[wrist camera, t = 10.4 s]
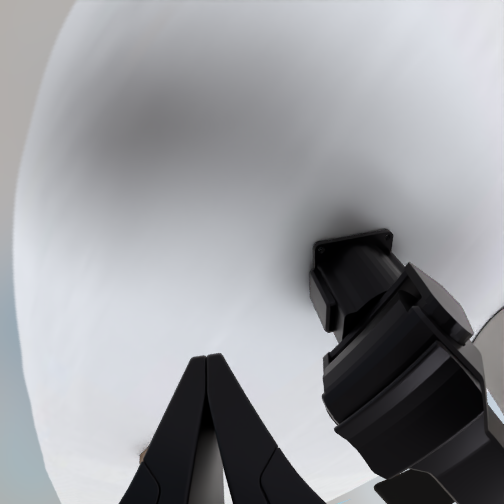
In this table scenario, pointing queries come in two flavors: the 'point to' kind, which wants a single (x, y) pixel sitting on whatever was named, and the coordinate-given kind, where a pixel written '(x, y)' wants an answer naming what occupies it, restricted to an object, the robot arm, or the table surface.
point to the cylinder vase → (493, 356)
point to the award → (412, 489)
